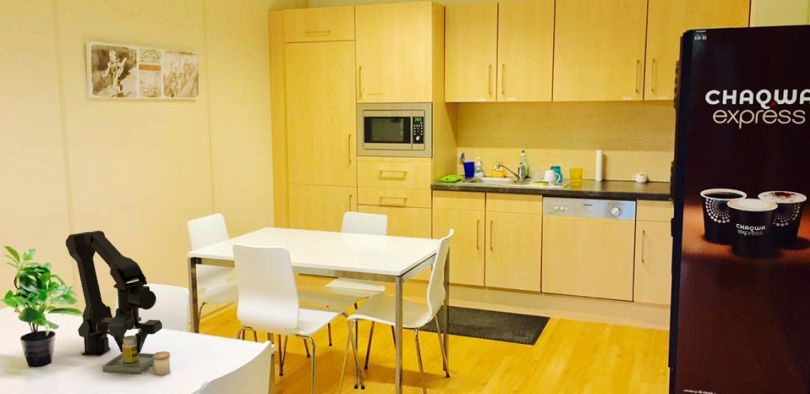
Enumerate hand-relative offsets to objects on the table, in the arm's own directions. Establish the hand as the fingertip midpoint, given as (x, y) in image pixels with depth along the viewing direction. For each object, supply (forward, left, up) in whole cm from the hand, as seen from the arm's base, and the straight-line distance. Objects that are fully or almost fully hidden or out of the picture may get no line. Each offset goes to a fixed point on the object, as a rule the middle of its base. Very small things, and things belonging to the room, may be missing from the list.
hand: (130, 352), depth 217 cm
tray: (0, 0, -4) cm, 4 cm away
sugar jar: (+12, -4, -4) cm, 13 cm away
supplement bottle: (0, 0, -4) cm, 4 cm away
